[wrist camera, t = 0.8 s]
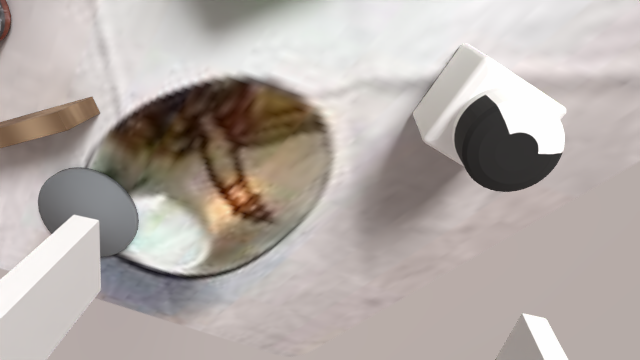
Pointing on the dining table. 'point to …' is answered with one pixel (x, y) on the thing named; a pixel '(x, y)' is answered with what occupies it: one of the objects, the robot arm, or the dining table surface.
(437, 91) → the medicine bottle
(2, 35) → the supplement bottle
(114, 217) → the coaster
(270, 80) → the dining table surface
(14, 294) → the robot arm
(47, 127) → the rail
